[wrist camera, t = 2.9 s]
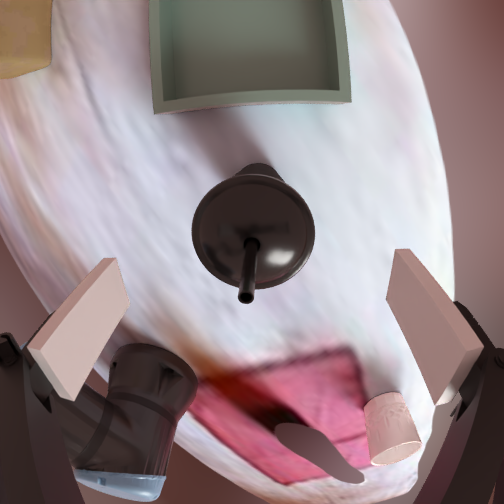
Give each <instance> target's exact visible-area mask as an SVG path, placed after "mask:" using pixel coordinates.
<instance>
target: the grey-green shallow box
mask: <svg viewBox="0 0 504 504" xmlns="http://www.w3.org/2000/svg"><path fill="white" fill-rule="evenodd" d="M149 44H150V67H151V84H152V97H153V109H154V114H174V113H181V112H188V111H195V110H203V109H212V108H222V107H233V106H246V105H264V104H344V103H351V82H350V67H349V55H348V44H347V34H346V26H345V18H344V10H343V3H342V0H149Z"/></svg>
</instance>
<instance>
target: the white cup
mask: <svg viewBox="0 0 504 504" xmlns="http://www.w3.org/2000/svg"><path fill="white" fill-rule="evenodd" d="M364 416H365V426H366V434H367V441H368V448H369V454H370V462H371V464H372V465H375V466H382V465H388V464H392V463H395V462H398V461H401V460H403V459H405V458H407V457H409V456H411V455H413V454H414V453H415V452H417V451H418V450H419V449H420V448H421V446H422V442H421V440H420V437H419V434H418V432H417V429H416V426H415V424H414V421H413V419H412V417H411V415H410V412H409V410H408V408H407V406H406V404H405V401H404V399H403V397H402V395H401V394H400V393H396V392H389V393H384V394H381V395H379V396H377V397H374V398H373V399H372V400H370V401H369V402H368V403H367V404H366V405H365V407H364Z"/></svg>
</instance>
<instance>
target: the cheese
mask: <svg viewBox="0 0 504 504" xmlns="http://www.w3.org/2000/svg"><path fill="white" fill-rule="evenodd" d="M51 8H52V0H0V79H9V78H14V77H17V76H20V75H23V74H26V73H29V72H33V71H36V70H39V69H42V68H44V67H47V66H48V65H49V64H50V63H51Z"/></svg>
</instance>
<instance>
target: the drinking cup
mask: <svg viewBox="0 0 504 504" xmlns="http://www.w3.org/2000/svg"><path fill="white" fill-rule="evenodd" d="M314 240H315V226H314V220H313V217H312V214H311V212H310V209H309V207H308V205H307V204H306V202H305V201H304V199H303V198H302V197H301V195H300V194H299V193H298V192H297V191H296V190H295V189H293V188H292V187H291V186H289V185H288V184H286V183H285V182H284V181H283V179H282V178H281V177H280V176H279V175H278V173H277V172H276V171H275V170H274V169H273V168H271V167H270V166H268V165H265V164H261V163H255V164H251V165H248V166H246V167H245V168H243V169H242V170H241V171H239V172H238V173H237V174H236V175H234V176H233V177H232V178H229V179H226V180H224V181H222V182H221V183H219V184H217V185H216V186H215V187H213V188H212V189H211V190H210V191H209V192H208V193H207V194H206V195H205V196H204V197H203V199H202V200H201V202H200V203H199V205H198V207H197V209H196V211H195V214H194V217H193V221H192V241H193V245H194V248H195V251H196V253H197V256H198V258H199V259H200V261H201V262H202V264H203V265H204V266H205V268H206V269H207V270H208V271H209V272H210V273H211V274H212V275H214V276H215V277H216V278H218V279H219V280H221V281H223V282H225V283H227V284H229V285H232V286H235V287H238V288H239V293H238V299H239V301H240V302H241V303H244V304H249V303H251V302H252V301H253V300H254V291H255V289H265V288H270V287H274V286H277V285H279V284H282V283H284V282H286V281H287V280H289V279H290V278H292V277H293V276H294V275H296V274H297V273H298V272H299V271H300V270H301V269H302V267H303V266H304V265H305V263H306V262H307V260H308V259H309V257H310V255H311V252H312V249H313V246H314Z"/></svg>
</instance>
